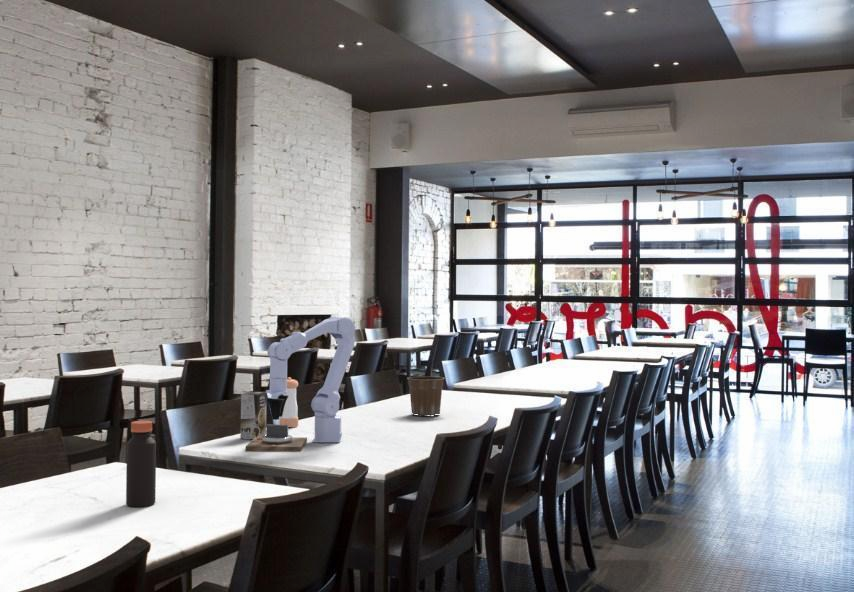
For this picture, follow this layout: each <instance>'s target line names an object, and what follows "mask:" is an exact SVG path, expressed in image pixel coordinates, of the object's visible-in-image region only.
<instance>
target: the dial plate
mask: <svg viewBox="0 0 854 592" xmlns="http://www.w3.org/2000/svg"><path fill="white" fill-rule="evenodd" d="M257 438H262V437H255V438H254V439H253V440H250V442H249V443H248V444H246V445H245V450H246V451H245V452H301V451H303V449H304V447H305V446H306V444H307V443H308V437H293V436H292V442H290V443H283V444H269V443H263V442H262V440H257Z"/></svg>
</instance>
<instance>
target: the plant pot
mask: <svg viewBox="0 0 854 592" xmlns="http://www.w3.org/2000/svg"><path fill="white" fill-rule="evenodd" d="M406 379H407V383H408V387H409V396H410V407H411V408H410V409H411V414H412V413H413V414H418V415H422V416H423V415H435V414H441V404H442V403H441V402H442V394H443V393H442V392H443V387H444V380H445V377H443V376H428V375H427V376H411V377H410V376H409V377H407V378H406Z"/></svg>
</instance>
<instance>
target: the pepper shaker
mask: <svg viewBox="0 0 854 592" xmlns="http://www.w3.org/2000/svg"><path fill="white" fill-rule="evenodd" d="M298 387H299V382H298V380H296V379H292V377H290V376H289V377H288V376H287V394H284V395H288V398H287V400H286V403H285V406H284V411H283V415H282V417H279V420H278V422H279V423H278V425H288V427H295V428H298V427H299V417H298V412H299V411H298V403H297V388H298ZM297 426H298V427H297Z"/></svg>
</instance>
